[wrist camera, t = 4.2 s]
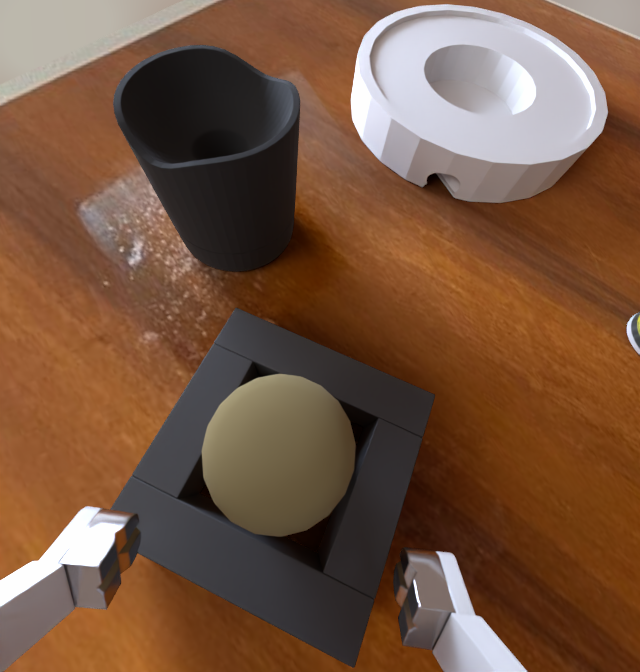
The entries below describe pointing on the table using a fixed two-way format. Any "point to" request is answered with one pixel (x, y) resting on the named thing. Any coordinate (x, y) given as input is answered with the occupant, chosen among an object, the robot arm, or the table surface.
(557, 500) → the table surface
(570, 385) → the table surface
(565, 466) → the table surface
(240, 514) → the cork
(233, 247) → the pen holder
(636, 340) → the supplement bottle
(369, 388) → the holder stand
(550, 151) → the ashtray
